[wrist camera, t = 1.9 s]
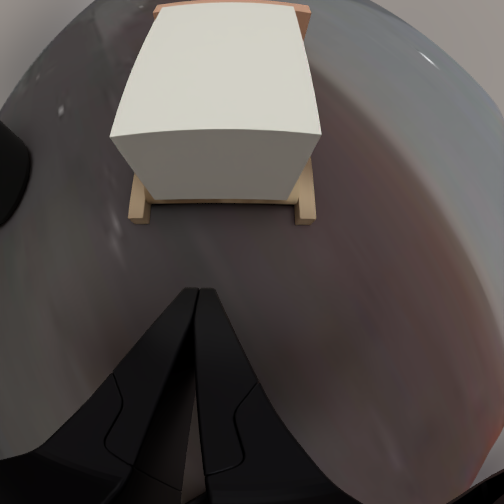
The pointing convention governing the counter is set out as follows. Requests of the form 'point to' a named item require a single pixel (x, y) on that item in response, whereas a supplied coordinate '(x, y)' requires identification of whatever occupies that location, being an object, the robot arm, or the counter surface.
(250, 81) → the white box on pallet
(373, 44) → the counter surface
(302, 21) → the brick stop
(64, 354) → the counter surface
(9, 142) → the coffee jar
